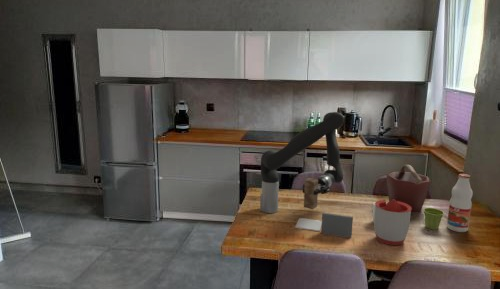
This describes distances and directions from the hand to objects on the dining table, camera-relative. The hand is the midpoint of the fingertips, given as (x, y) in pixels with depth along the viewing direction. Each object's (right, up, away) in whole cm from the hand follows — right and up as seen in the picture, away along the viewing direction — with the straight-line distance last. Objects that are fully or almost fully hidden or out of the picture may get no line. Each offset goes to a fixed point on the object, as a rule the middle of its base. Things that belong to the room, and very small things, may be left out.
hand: (309, 192), depth 180 cm
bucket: (+60, -13, +32) cm, 70 cm away
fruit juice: (+75, -19, +5) cm, 78 cm away
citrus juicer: (+36, -21, -9) cm, 43 cm away
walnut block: (+1, -8, +4) cm, 9 cm away
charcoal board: (+12, -20, -5) cm, 24 cm away
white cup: (+38, -17, +10) cm, 43 cm away
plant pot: (+63, -19, +6) cm, 66 cm away
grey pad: (+1, -17, +6) cm, 18 cm away
